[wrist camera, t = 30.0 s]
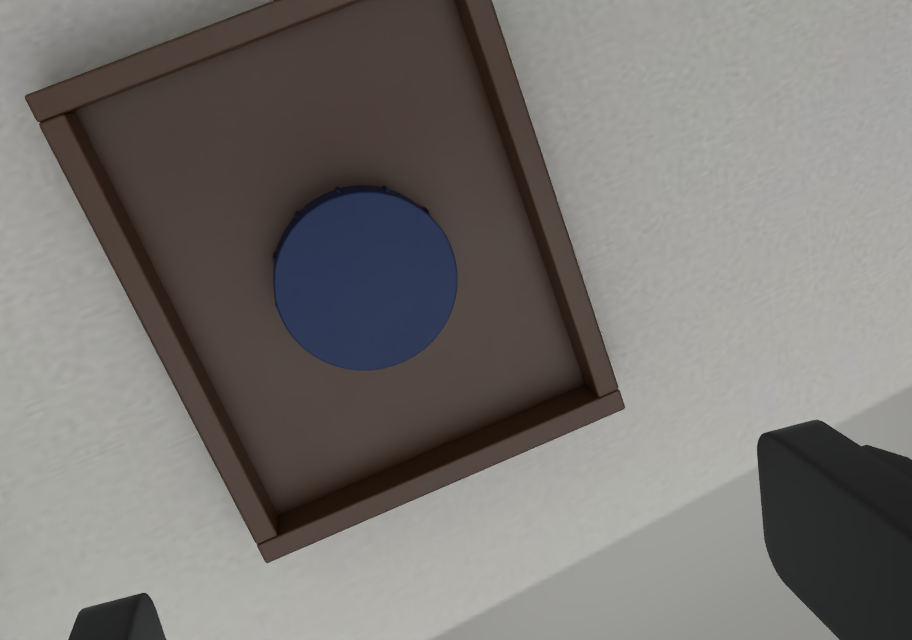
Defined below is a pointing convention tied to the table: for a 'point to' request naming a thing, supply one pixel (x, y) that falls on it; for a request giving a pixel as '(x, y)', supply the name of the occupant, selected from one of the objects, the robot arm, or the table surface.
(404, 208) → the lid
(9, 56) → the table surface
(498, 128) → the tray
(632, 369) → the table surface
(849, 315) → the table surface
